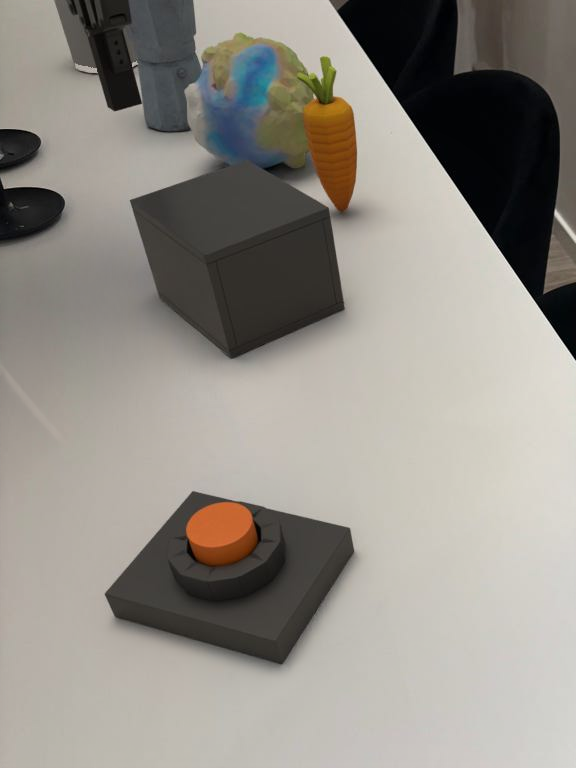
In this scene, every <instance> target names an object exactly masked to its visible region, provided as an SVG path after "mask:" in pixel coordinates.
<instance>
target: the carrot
mask: <svg viewBox="0 0 576 768" xmlns="http://www.w3.org/2000/svg"><path fill="white" fill-rule="evenodd" d="M319 61H320V67H321V72H322V78H320V79H319V78H318V76H317V75H316V73H315V72H311V73H308V75H309V77H307V76H306V75H304V74H302V73H298V75H297V79H299V80H300V81H302V82H304V83H305V84H306V85H307V86H308V87H309V88H310V89H311V90H312V92H313V94H314V96H315V97H314V99H313V100H312V101H311V102H310V103H308V104H307V105H306V106H305V107H304V109H303V121H304V126H305V131H306V136H307V141H308V145H309V150H310V152H309V153H310V157H311V160H312V163H313V167H314V169H315V171H316V174H317V177H318V179H319V182H320V185H321V186H322V188H323V191H324V193H326V196H327V197H328V199H329V200H330V201H331V202H332V204H333V206H334V208H335V209H336V210H337V211H339V212H340V213H345V211H346V210H347V209H348V208H349V205H350V202H351V200H352V198H353V194H354V191H355V190H354V189H355V186H356V183H357V182H356V180H357V169H358V168H357V167H358V144H357V132H356V121H355V113H354V110H353V108H352V106H351V105H350V104H349V103H348V102H347V101H346V100H345V99H344V98H343V97H342V96H341V97H340V96H334V84H335V80H336V78H337V77H336V76H337V72H338V71H337V69H336V68H335V67H333V66H332V62H331V58H330V57H328V56H326V55H321V57H319Z"/></svg>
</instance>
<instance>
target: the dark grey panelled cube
mask: <svg viewBox="0 0 576 768" xmlns="http://www.w3.org/2000/svg"><path fill="white" fill-rule="evenodd" d="M129 203H130V206H131V209H132V214H133V216H134V219H135V222H136V227H137V230H138V232H139V236H140V239H141V242H142V245H143V249H144V252H145V256H146V259H147V262H148V265H149V269H150V272H151V274H152V279H153V281H154V285H155V287H156V288H155V289H156V291H157V295H158V298H159V299H160V300H161V301H162V302H163V303H165V304H166V306H168V307H169V308H170V309H172V310H173V311H174V312H175V313H177V315H179V316H180V317H181V318H182V319H183V320H184V321H185V322H187V323H189V324H190V325H191V326H192V327H193V328H194V329H195V330H197V332H199V333H200V334H202V335H203V336H204V337H205V338H206V339H208V340H209V341H210V342H211V343H212V344H213V345H215V346H216V347H217V348H218V349H219V350H221V352H223V353H224V354H225V355H227V357H229V358H230V359H234V358H236V357H239V356H240V355H243V354H245V353H247V352H250V351H252V350H255V349H256V348H259V347H261V346H263V345H266V344H267V343H270V342H272V341H274V340H277V339H279V338H281V337H283V336H286V335H288V334H291V333H293V332H295V331H297V330H299V329H301V328H304V327H306V326H308V325H312V324H313V323H315V322H317V321H321V320H322V319H324V318H326V317H329V316H332V315H334V314H336V313H338V312H340V311H343V310H345V309H346V307H345V302H344V295H343V288H342V281H341V276H340V270H339V262H338V257H337V251H336V244H335V238H334V231H333V224H332V218H331V213H330V207H329V206H327V205H325V204H323V203H321V202H320V201H318V200H317V199H314V198H313V197H311V196H310V195H308V194H306V193H305V192H303V191H301V190H300V189H298V188H296V187H294V186H293V185H291V184H290V183H287V181H284V180H282V179H281V178H279V177H277V176H276V175H274V174H272V173H271V172H269V171H267V170H266V169H265V168H264V169H262V168H260V167H259V166H257V165H255V164H253V163H252V162H250V161H248V160H246V161H243V162H240V163H237V164H234V165H231V166H230V165H229V166H226V167H222V168H219V169H217V170H214V171H211V172H208V173H205V174H202V175H199V176H196V177H193V178H190V179H188V180H187V179H186V180H184V181H181V182H179V183H175V184H171V185H170V186H166V187H163V188H160V189H158V190H155V191H152V192H149V193H147V194H144V195H141V196H137V197H135V198H131V199H129Z"/></svg>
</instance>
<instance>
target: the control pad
mask: <svg viewBox="0 0 576 768" xmlns="http://www.w3.org/2000/svg"><path fill="white" fill-rule="evenodd" d="M222 502H232V503H237V504H240V505H243V506H244V507H246V508H247V509H248V510H249V511H250V513H251V515H252V518H253V522H254V525H255V529H256V532H257V536H258V542H257V545H256V547H255V549H254V551H253V552H252V553H251V554H250V555H249V556H247V557H246V558H244V559H242V560H240V561H238V562H237V563H235V564H231V565H225V566H218V567H211V566H207V565H204V564H202V563H201V562H199V561H198V560H197V559H196V558H195V556H194V554H193V551H192V548H191V545H190V542H189V540H188V537H187V533H186V528H187V524H188V522H189V520H190V519H191V517H192V516H193V515H194V514H195V513H197V512H198V511H199V510H201V509H203V508H204V507H207V506H209V505H212V504H216V503H222ZM354 553H355V546H354V541H353V536H352V531H351V527H348V526H344V525H339V524H336V523H331V522H327V521H323V520H318V519H314V518H310V517H305V516H301V515H297V514H293V513H288V512H285V511H280V510H276V509H271V508H268V507H265V506H262V505H258V504H254V503H249V502H245V501H241V500H233V499H228V498H225V497H221V496H217V495H212V494H207V493H203V492H199V491H194V490H193V491H191V492H190V493H189V494H188V496H187V497H186V498H185V499H184V501H183V502H182V503H181V504H180V505H179V507H177V508H176V510H175V511H174V512H173V513H172V514H171V515H170V516H169V518H168V519H167V520H166V521H165V523H163V525H162V526H161V527H160V528H159V530H158V531H157V532H156V533H155V534H154V536H153V537H152V538H151V539H150V540H149V541H148V542H147V543H146V544H145V546H144V547H143V548H142V549H141V551H139V553H138V554H137V555H136V556H135V557H134V559H133V560H132V561H131V562H130V563H129V565H127V567H126V568H125V569H124V570H123V571H122V572H121V574H119V576H118V577H117V578H116V579H115V581H114V582H113V583H112V584H111V585H110V587H109V588H108V589H107V590H106V591H105V592H104V597H105V599H106V602H107V603H108V605H109V607H110V609H111V611H112V615H113V616H114V618H117V619H121V620H125V621H128V622H131V623H134V624H138V625H142V626H145V627H148V628H152V629H156V630H160V631H163V632H167V633H170V634H174V635H177V636H180V637H184V638H187V639H191V640H195V641H198V642H203V643H205V644H208V645H213V646H216V647H219V648H222V649H226V650H230V651H233V652H237V653H240V654H244V655H248V656H251V657H255V658H258V659H261V660H265V661H268V662H272V663H275V664H279V665H283V664H284V663H285V661H286V659H287V658H288V656H289V654H290V653H291V651H292V650H293V648H294V647H295V645H296V644H297V642H298V640H299V639H300V637H301V635H302V634H303V632H304V631H305V630H306V628H307V626H308V625H309V623H310V621H311V620H312V618H313V617H314V615H315V614H316V612H317V610H319V608H320V606H321V604H322V603H323V601H324V600H325V598H326V596H327V595H328V593H329V592H330V590H331V589H332V587H333V586H334V584H335V582H336V581H337V580H338V578H339V576H340V575H341V573H342V572H343V570H344V568H345V567H346V565H347V564H348V562H349V560H350V559H351V557H352V556H353V554H354Z"/></svg>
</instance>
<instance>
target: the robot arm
mask: <svg viewBox="0 0 576 768" xmlns="http://www.w3.org/2000/svg"><path fill="white" fill-rule="evenodd" d="M66 1H67V4H68V8H69V10H70V12H71V14H72V15H74V16H75V15H78V16H79V21H80V23H81V24H82V26H83V27H84V30H85V33H86V34H87V37H88V41H89V44H90V48H91V51H92V54H93V58H94V61H95V65H96V68H97V72H98V74H97V75H98V78H99V82H100V85H101V88H102V89H101V90H102V92H103V95H104V99H105V102H106V106H107V108H108V109H110V110H112V111H113V112H119V111H122V110H124V109H129V108H133V107H136V106H139V105H143V102H142V96H141V94H140V93H141V92H140V90H139V87H138V82H137V79H136V75H135V71H134V68H133V67H132V63H131V59H130V55H129V52H128V48H127V44H126V40H125V36H124V33H123V28H125V26H128V25H131V24H132V19H131V13H130V7H129V1H128V0H66Z"/></svg>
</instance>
